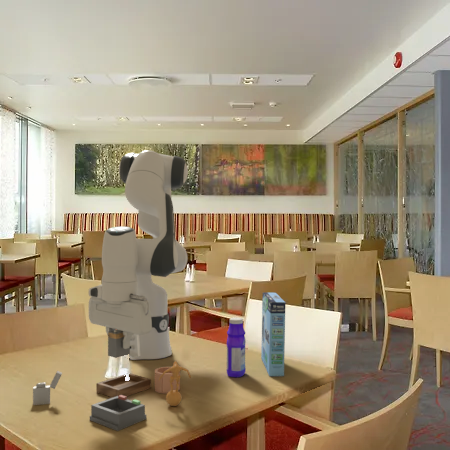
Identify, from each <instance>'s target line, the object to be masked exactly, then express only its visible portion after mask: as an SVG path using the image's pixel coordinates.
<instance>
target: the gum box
mask: <svg viewBox="0 0 450 450" xmlns="http://www.w3.org/2000/svg"><path fill="white" fill-rule="evenodd" d="M261 299H262V303H261V305H262V307H261V310H262V311H261V353H260V355H261V358H260V359H261V361H262V362H263V363H262V364H264V367H265V369H266V373H267V374H268V376H269V377H285V345H286V342H285V341H286V338H285V337H286V333H285V332H286V301H284V299H283V298H281V296H280V295H279V294H278V293H277V292H266V291H265V292H262V298H261Z"/></svg>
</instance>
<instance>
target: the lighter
mask: <svg viewBox="0 0 450 450" xmlns="http://www.w3.org/2000/svg"><path fill="white" fill-rule="evenodd" d="M62 374H63V372H62V371H59V370H57V371H56V372H55V374H54V376H53V379H52V380H51V383H50V384H49V385H46V384H47V383H46V382H38V383H36V384H35V386H33V387H32V405H33V406H38V405H40V406H41V405H49V404H51V389H54V390H55V389H56V387H57V385H58V383H59V380H60V379H61V377H62Z"/></svg>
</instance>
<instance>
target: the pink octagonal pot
mask: <svg viewBox="0 0 450 450" xmlns="http://www.w3.org/2000/svg"><path fill="white" fill-rule="evenodd" d="M171 367H172V366H161V367H158V368H155V369H154V392H155V393H158V394H166V395H167V393H168V392H169V391H170V390H171V387H170V376H172V377H173V374H172V371H169V372H167V373H165V374H164V375H163V377H162V378H161V379H160V380H159V378H160V376H161V375H162V374H163V372H164V371H166V370H168V369H169V368H171ZM179 375H180V376H181V371H180V372H179ZM179 375H178V376H179ZM172 384H173V390H176V388H177V386H176V384H177V381H176V380H175V379H174V381H173V382H172ZM178 384H179V387H178V392H180V390H181V380H180V381H179V382H178Z"/></svg>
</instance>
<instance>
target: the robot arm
mask: <svg viewBox="0 0 450 450" xmlns="http://www.w3.org/2000/svg"><path fill="white" fill-rule="evenodd" d="M188 174H189V169H188V166H187V161H186V160H185V159H184V158H183V157H181V156H178V155H173V156H172V155H167V154H162V153H158V152H156V151H154V150H149V149H147V150H142V151H141V152H139V153H136V152H128V153H126V154H124V155H123V156H122V157H121V159H120V162H119V165H118V175H119V178H120V181H122V183H124V184H125V187H124V195H125V198H126V200H127V202H129V204H130V205H131V206H132V207H133V208H134V209H136V210H137V211H138V212H137V213H138V214H137V225H138V227H139V229H140V230H141V231H142V232H144V233H146V234H148V235H150V236H151V237H152V238H137V235H136V234H137V233H136V230H135V229H134V228H132V227H130V226H121V225H120V226H112V227H109V228H108V229H106V230H105V231H104V234H103V241H102V249H101V250H102V251H101V266H102V271H103V272H102V277H101V284H98V285H96V286H93V287H89V289H88V296H89V297H90V298H89V299H88V320H89V322H90V323H91V324H92V325H97V326H101V327H105V332H106V334H107V336H108V332H110V331H114V330H121V331H123V335H125V337H124V339H123V341H121V348H124V349H127V348H129V347H130V354H129V357H130V359H129V360H133V361H135V360H136V361H137V360H158V359H159V360H160V359H164V358H167V357H170V356H171V355H172V354H173V352H172V346H171V341H170V333H169V322H170V321H169V320H170V316H169V315H170V314H169V313H168V293H167V290H166V289H165V288H164V287H162V286H161V285H159V284H157V283H155V282H153V280H152V279H153V278H152V276H154V277H161V278H166V277H167V276H169V275H170V274H175V273H178V272H182V271H183V270H184V269H185V268H186V266H187V264H188V257H189V256H188V253H187V250H186V248H185V247H184V246H183V245H182V244H180V242H178V241H177V239H176V228H175V226H176V225H175V214H174V205H173V201H172V191H176V190H177V189H180V188H181V187H183V186H184V185H185V182H186V181H187V178H188V176H189V175H188Z"/></svg>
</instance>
